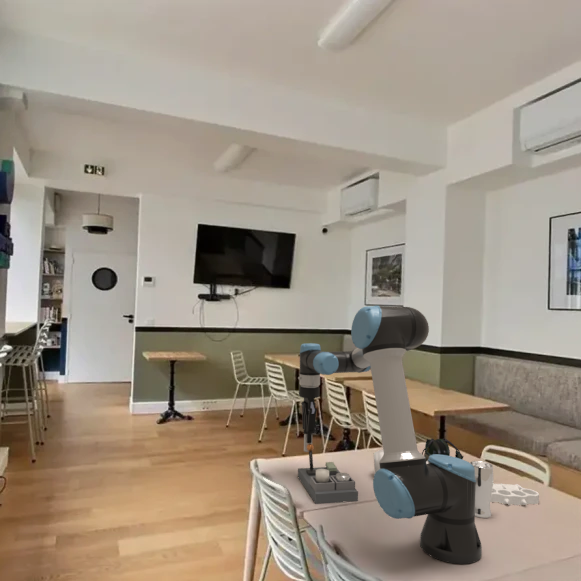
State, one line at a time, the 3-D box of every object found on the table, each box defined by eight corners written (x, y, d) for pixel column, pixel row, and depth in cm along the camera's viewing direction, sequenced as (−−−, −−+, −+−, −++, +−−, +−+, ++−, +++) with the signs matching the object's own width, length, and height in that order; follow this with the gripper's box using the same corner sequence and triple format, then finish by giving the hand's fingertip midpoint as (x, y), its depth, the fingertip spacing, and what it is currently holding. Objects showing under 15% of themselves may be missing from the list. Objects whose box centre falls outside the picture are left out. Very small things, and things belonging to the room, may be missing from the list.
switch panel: (357, 501, 155) (358, 483, 155) (315, 503, 152) (316, 486, 152) (334, 474, 178) (335, 459, 179) (297, 476, 175) (298, 461, 175)
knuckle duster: (526, 492, 167) (546, 510, 153) (473, 489, 168) (487, 507, 154) (526, 482, 167) (546, 499, 153) (473, 480, 169) (487, 496, 154)
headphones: (407, 444, 200) (431, 468, 181) (431, 422, 201) (457, 443, 182) (426, 465, 203) (451, 490, 184) (449, 443, 204) (476, 466, 185)
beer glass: (478, 519, 143) (478, 468, 144) (463, 510, 150) (464, 461, 151) (498, 517, 145) (498, 467, 146) (483, 508, 152) (483, 459, 152)
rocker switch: (336, 471, 170) (336, 467, 170) (328, 471, 169) (329, 468, 169) (332, 465, 174) (333, 462, 174) (325, 465, 174) (325, 462, 173)
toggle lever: (316, 470, 170) (314, 443, 173) (309, 470, 169) (307, 443, 172) (314, 470, 172) (312, 443, 175) (307, 471, 171) (305, 444, 175)
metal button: (351, 486, 157) (351, 476, 158) (338, 487, 157) (338, 477, 157) (346, 481, 162) (346, 472, 162) (334, 482, 161) (334, 472, 161)
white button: (330, 482, 156) (330, 473, 156) (317, 483, 155) (317, 473, 155) (326, 477, 160) (327, 468, 160) (313, 478, 159) (314, 469, 159)
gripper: (295, 383, 183) (293, 446, 182) (303, 389, 170) (302, 457, 169) (314, 382, 184) (313, 445, 184) (324, 388, 172) (322, 456, 171)
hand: (307, 451), depth 176 cm, fingers closed
